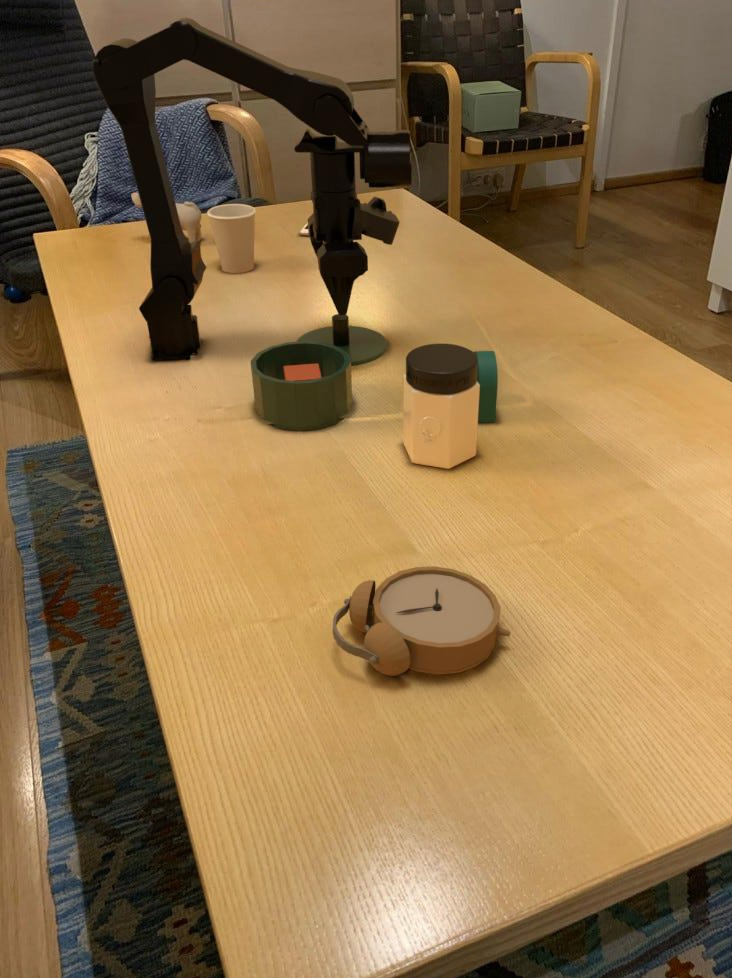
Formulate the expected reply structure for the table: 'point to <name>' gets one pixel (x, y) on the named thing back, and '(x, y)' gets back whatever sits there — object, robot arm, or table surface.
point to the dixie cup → (234, 236)
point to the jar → (441, 405)
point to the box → (302, 372)
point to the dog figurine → (183, 217)
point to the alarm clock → (423, 621)
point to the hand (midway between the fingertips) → (338, 302)
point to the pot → (302, 386)
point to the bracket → (487, 385)
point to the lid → (350, 339)
